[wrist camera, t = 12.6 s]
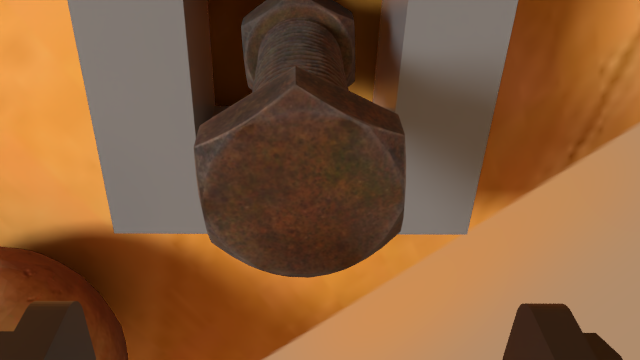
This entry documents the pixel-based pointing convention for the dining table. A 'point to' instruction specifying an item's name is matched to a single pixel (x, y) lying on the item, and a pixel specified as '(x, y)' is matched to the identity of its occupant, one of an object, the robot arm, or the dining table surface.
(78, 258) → the dining table surface
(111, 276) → the dining table surface
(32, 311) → the robot arm
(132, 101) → the socket block
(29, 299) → the butternut squash
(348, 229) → the bolt
